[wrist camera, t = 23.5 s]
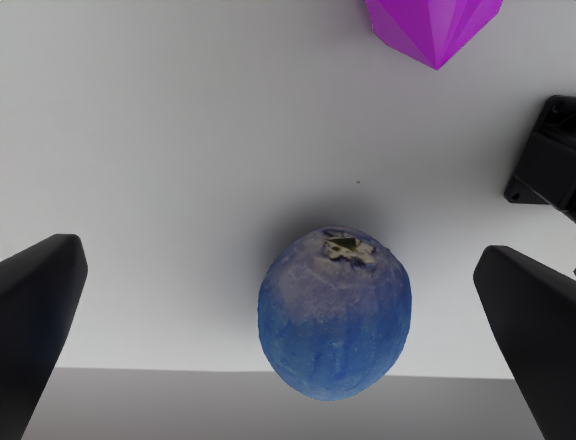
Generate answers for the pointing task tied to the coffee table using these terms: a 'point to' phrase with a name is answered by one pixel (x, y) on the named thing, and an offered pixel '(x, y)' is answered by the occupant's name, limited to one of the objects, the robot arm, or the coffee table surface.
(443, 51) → the crystal
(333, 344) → the blueberry
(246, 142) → the coffee table surface
